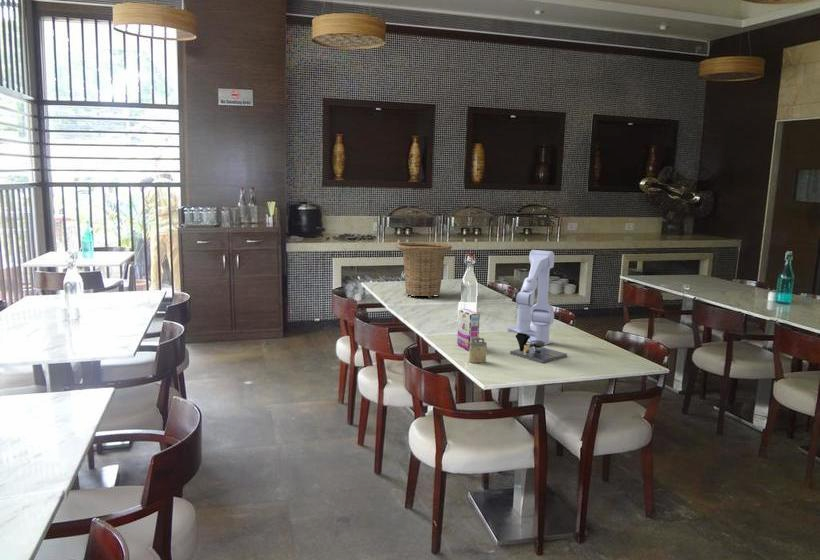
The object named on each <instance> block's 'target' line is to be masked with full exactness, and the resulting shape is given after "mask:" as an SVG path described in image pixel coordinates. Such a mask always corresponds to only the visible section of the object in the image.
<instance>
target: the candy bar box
mask: <svg viewBox="0 0 820 560" xmlns="http://www.w3.org/2000/svg"><path fill="white" fill-rule="evenodd" d="M480 315H481V313H479V312H476V311H474V310H472V309H469V308H463V309H458V321H457V322H458V323H457V340H456V341H457V343H456V344H458V345H460V346H461V347H460V346H459V347H460V348H462V347H463V348H462V349H464V348H465V350H466V351H468V352H469V350H470V342H472V338H477V337H479V335H480V320H481V319H480V317H481V316H480ZM479 338H480V337H479ZM476 341H477V340H475V341H474V342H476ZM458 345H457V346H458Z"/></svg>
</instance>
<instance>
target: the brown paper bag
mask: <svg viewBox="0 0 820 560" xmlns="http://www.w3.org/2000/svg"><path fill="white" fill-rule="evenodd" d="M475 340H477V341H476V342H474V341H475ZM480 340H481V341H480ZM487 346H488V345H487V342H485V338H483V337H477V338H472V342H470V350H469V351H468V352H469V354H468V355H469V356H468V362H469V363H472V364H480V363H481V364H482V363H483V364H484V363H487V348H488V347H487Z"/></svg>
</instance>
